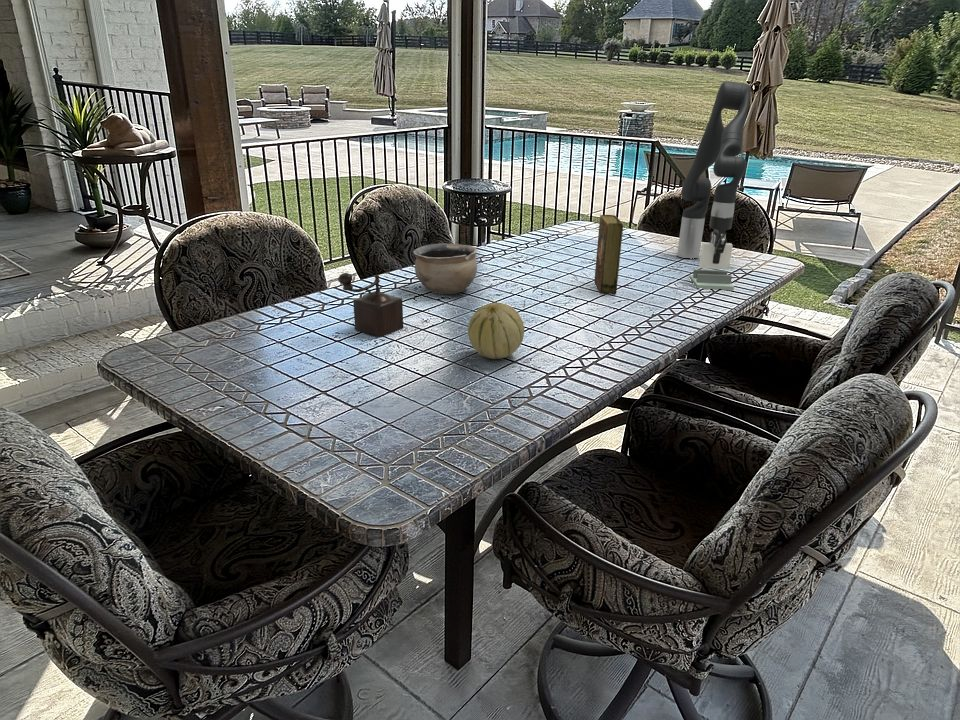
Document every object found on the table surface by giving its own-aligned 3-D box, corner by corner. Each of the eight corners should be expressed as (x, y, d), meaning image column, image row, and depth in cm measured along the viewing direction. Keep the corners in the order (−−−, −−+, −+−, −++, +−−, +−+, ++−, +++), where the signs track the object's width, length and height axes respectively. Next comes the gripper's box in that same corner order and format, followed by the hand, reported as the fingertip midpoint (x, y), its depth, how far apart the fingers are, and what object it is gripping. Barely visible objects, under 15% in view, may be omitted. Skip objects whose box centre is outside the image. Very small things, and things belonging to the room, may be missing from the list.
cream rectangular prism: (698, 266, 237) (702, 242, 233) (726, 267, 236) (730, 243, 232) (700, 268, 234) (704, 243, 230) (728, 269, 233) (732, 245, 230)
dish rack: (689, 278, 244) (690, 267, 243) (723, 280, 243) (725, 268, 241) (696, 288, 231) (698, 276, 230) (733, 290, 230) (735, 278, 229)
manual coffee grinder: (377, 320, 194) (374, 262, 187) (404, 328, 188) (402, 268, 181) (339, 334, 183) (334, 273, 176) (366, 343, 177) (362, 280, 170)
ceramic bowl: (469, 303, 212) (469, 258, 206) (406, 298, 216) (404, 254, 210) (482, 285, 232) (482, 244, 226) (424, 280, 236) (423, 240, 230)
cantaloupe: (520, 346, 176) (522, 294, 171) (525, 367, 163) (528, 311, 157) (467, 346, 176) (467, 293, 170) (467, 367, 162) (468, 311, 157)
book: (593, 282, 237) (599, 214, 228) (608, 282, 237) (614, 214, 228) (600, 295, 222) (607, 223, 213) (616, 295, 222) (623, 223, 212)
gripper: (706, 211, 234) (699, 257, 241) (716, 218, 221) (708, 266, 228) (727, 211, 233) (720, 258, 240) (738, 218, 221) (730, 267, 227)
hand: (714, 262), depth 234 cm, fingers closed on cream rectangular prism, 3 cm apart
